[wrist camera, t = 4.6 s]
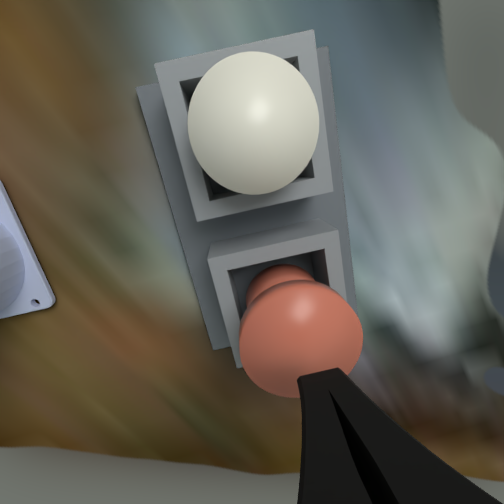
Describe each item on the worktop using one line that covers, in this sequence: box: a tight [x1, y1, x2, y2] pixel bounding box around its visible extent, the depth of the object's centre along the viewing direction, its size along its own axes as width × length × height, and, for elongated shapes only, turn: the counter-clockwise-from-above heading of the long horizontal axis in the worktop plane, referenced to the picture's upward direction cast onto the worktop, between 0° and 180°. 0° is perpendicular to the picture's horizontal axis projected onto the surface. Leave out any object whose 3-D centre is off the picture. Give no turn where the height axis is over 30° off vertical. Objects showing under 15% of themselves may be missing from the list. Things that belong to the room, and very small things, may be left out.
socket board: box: [135, 29, 358, 368], centre depth 16 cm, size 10×16×4 cm, turn 12°
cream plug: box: [188, 51, 319, 195], centre depth 13 cm, size 5×5×4 cm
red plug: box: [239, 264, 363, 398], centre depth 14 cm, size 5×5×4 cm
